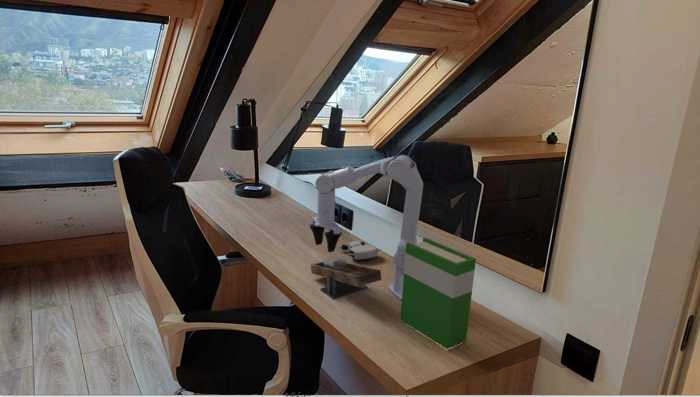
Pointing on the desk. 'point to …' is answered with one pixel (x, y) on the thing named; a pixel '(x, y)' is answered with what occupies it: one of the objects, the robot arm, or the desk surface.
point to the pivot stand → (339, 288)
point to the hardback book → (437, 291)
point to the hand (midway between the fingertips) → (324, 247)
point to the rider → (335, 263)
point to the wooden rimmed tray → (349, 274)
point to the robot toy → (360, 250)
